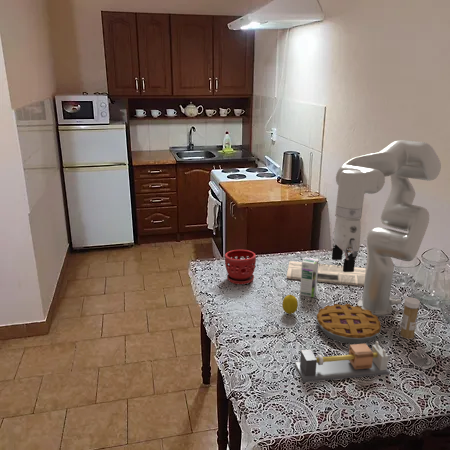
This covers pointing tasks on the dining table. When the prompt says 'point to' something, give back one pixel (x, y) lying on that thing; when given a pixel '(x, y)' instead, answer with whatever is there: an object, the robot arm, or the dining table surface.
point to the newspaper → (330, 274)
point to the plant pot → (240, 266)
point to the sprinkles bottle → (409, 317)
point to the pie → (348, 323)
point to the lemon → (290, 304)
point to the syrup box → (309, 277)
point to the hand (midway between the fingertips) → (342, 265)
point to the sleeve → (361, 356)
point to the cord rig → (339, 366)
